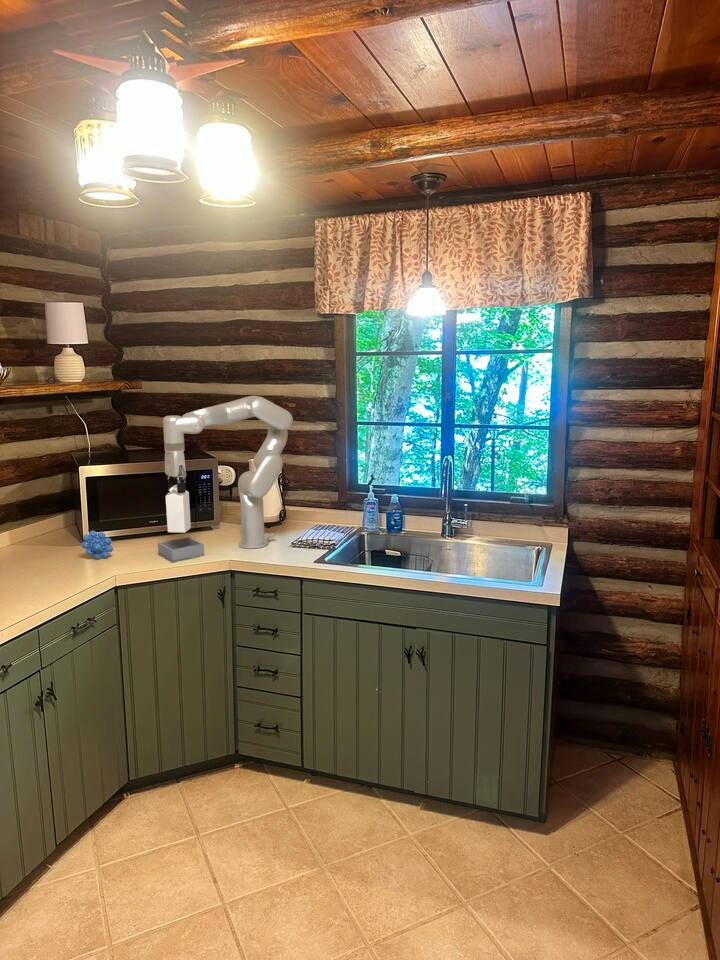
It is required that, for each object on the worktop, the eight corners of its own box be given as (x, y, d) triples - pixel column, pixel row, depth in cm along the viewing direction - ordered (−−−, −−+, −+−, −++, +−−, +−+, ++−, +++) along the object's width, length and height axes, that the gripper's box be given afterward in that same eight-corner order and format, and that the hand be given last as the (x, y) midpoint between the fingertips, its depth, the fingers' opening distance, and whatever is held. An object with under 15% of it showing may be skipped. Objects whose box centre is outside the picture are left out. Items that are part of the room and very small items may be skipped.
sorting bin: (189, 548, 290) (188, 537, 289) (204, 555, 279) (203, 544, 278) (158, 554, 281) (157, 543, 280) (172, 562, 271) (171, 550, 270)
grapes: (82, 563, 270) (79, 534, 268) (83, 559, 277) (80, 530, 274) (113, 560, 274) (111, 531, 272) (114, 556, 280) (111, 527, 278)
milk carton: (191, 528, 281) (188, 482, 278) (185, 533, 274) (182, 486, 271) (174, 528, 282) (171, 482, 278) (167, 532, 275) (164, 486, 271)
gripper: (156, 445, 276) (159, 488, 279) (174, 450, 263) (177, 495, 266) (174, 444, 281) (176, 486, 284) (193, 448, 267) (195, 493, 271)
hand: (177, 490), depth 275 cm, fingers closed on milk carton, 7 cm apart
